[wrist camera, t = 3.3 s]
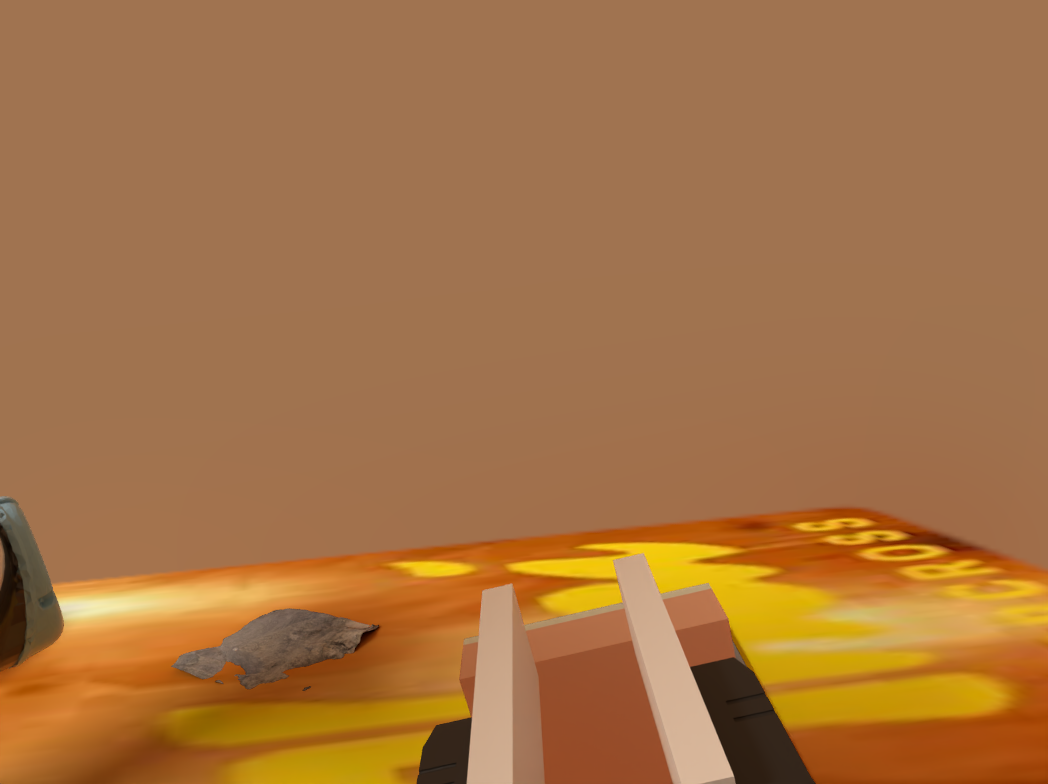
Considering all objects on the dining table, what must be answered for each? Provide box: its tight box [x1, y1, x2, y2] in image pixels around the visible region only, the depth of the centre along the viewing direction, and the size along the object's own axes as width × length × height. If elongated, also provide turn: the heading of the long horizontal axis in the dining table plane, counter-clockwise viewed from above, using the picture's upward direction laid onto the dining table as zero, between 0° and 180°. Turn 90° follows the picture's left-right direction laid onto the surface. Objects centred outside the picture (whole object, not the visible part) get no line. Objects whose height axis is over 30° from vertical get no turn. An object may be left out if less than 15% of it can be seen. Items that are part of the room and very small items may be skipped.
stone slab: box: [171, 609, 379, 691], centre depth 60 cm, size 18×2×10 cm
